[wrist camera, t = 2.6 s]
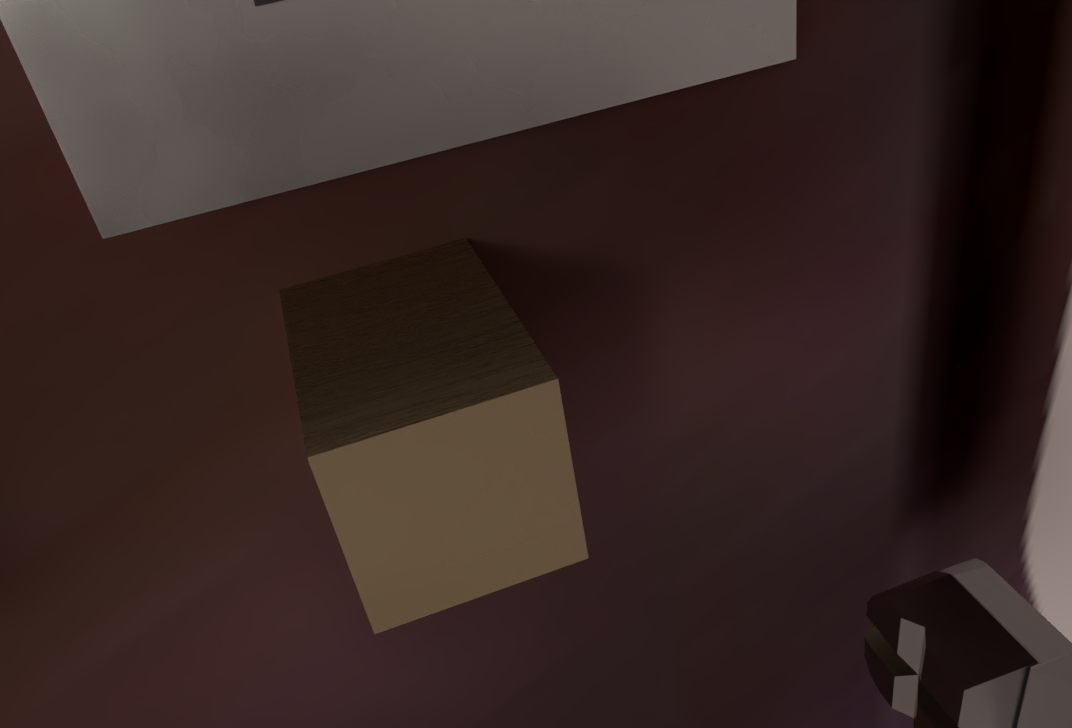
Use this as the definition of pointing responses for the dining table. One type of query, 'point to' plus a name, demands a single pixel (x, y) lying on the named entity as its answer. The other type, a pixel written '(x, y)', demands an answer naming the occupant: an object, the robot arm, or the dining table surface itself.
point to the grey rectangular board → (344, 83)
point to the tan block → (431, 432)
